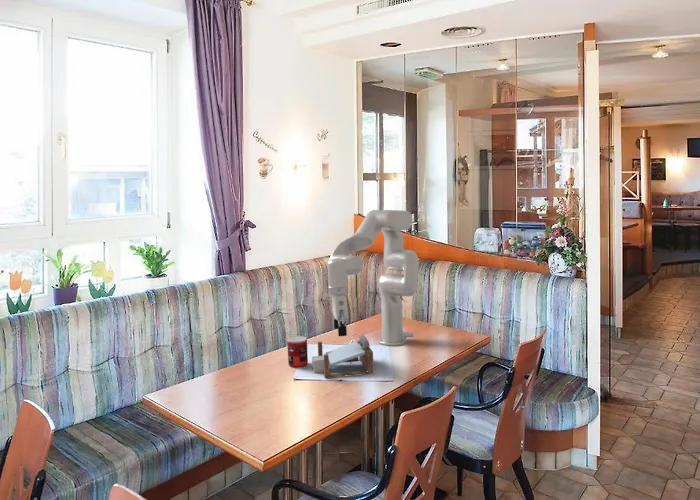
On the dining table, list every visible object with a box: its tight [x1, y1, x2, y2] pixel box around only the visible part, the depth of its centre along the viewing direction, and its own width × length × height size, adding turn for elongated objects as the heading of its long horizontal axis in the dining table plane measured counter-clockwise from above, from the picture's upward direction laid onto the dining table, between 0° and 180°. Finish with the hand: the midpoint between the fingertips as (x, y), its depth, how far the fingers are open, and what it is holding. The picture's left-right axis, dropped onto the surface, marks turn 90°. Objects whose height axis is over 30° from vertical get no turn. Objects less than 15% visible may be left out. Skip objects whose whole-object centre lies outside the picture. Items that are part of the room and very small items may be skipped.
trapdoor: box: [325, 333, 370, 367], centre depth 231 cm, size 17×14×4 cm
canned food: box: [286, 335, 309, 369], centre depth 237 cm, size 8×8×11 cm
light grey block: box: [311, 355, 324, 374], centre depth 230 cm, size 5×5×6 cm
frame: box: [317, 341, 374, 379], centre depth 231 cm, size 19×18×9 cm
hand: (340, 332), depth 230 cm, fingers open, 9 cm apart
